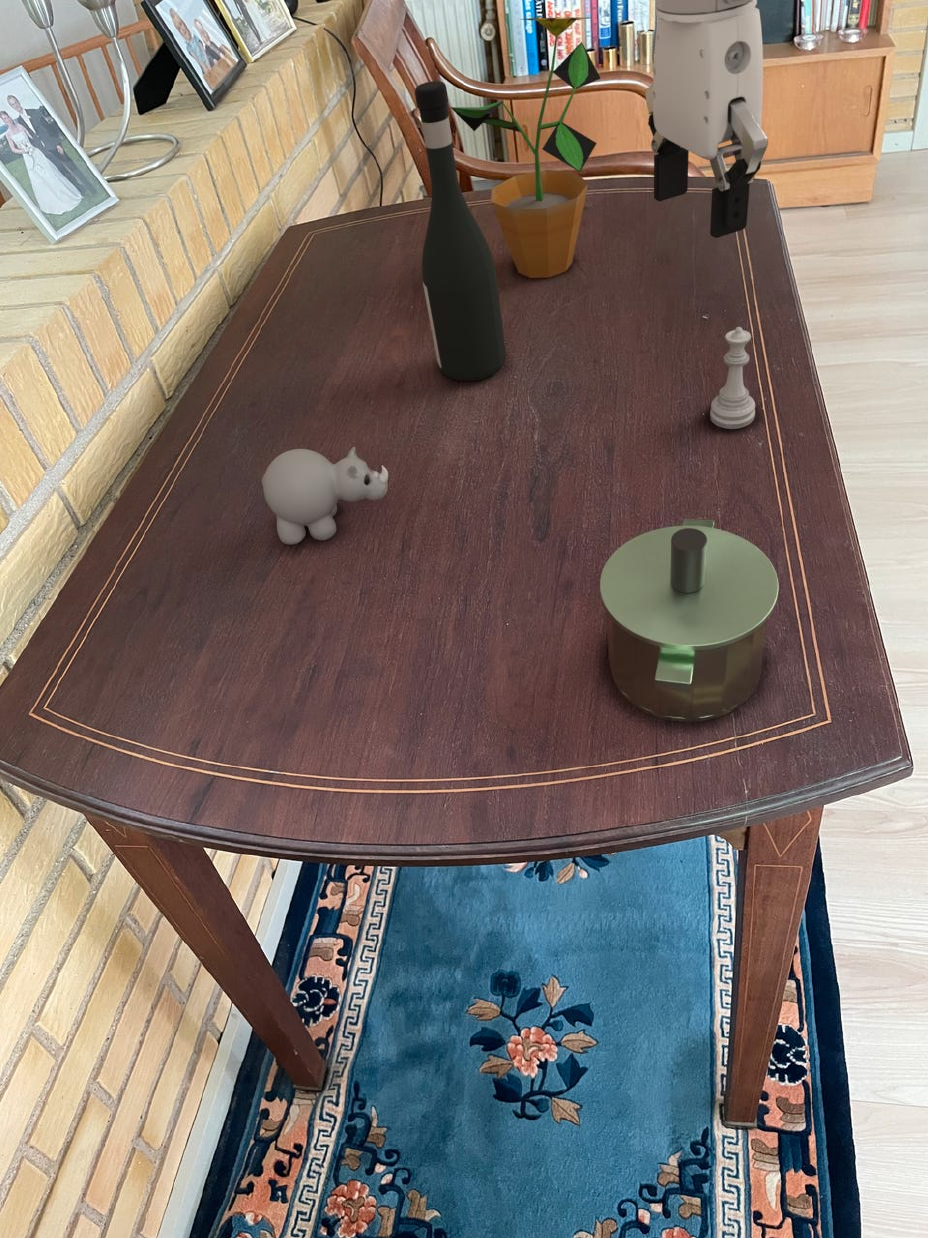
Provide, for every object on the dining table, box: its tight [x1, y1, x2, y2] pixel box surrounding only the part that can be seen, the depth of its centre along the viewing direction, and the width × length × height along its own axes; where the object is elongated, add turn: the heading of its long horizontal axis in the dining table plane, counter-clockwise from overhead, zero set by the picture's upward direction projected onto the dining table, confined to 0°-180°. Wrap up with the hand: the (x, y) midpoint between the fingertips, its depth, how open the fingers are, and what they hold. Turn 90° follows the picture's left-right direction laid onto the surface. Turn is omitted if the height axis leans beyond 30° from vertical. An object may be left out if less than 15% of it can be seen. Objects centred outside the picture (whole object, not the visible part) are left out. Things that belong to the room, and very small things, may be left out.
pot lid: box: [599, 525, 780, 650], centre depth 64 cm, size 12×12×5 cm
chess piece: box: [709, 326, 756, 430], centre depth 90 cm, size 4×4×10 cm
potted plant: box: [450, 17, 601, 279], centre depth 113 cm, size 18×19×30 cm
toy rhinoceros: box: [261, 446, 389, 546], centre depth 88 cm, size 7×12×8 cm, turn 93°
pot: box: [606, 518, 769, 723], centre depth 69 cm, size 11×17×8 cm
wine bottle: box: [414, 80, 507, 383], centre depth 97 cm, size 8×8×30 cm
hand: (698, 213), depth 81 cm, fingers open, 9 cm apart
